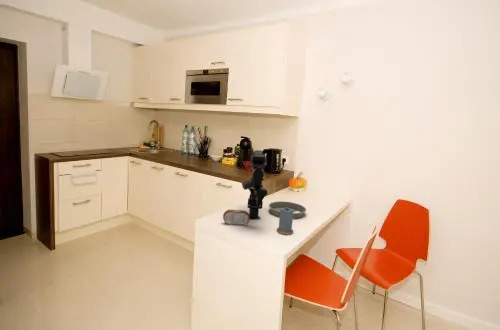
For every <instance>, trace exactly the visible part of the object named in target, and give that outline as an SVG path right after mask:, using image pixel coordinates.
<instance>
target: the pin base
mask: <svg viewBox="0 0 500 330" xmlns="http://www.w3.org/2000/svg"><path fill="white" fill-rule="evenodd" d="M276 232H277V234H280V235H284V236H291V235H293V234H294V230H293V229H292V230H291V231H290V232H286V233H284V232H282V231H280V230H279V227H277V228H276Z"/></svg>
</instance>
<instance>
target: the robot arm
mask: <svg viewBox="0 0 500 330" xmlns="http://www.w3.org/2000/svg"><path fill="white" fill-rule="evenodd" d="M267 161H268V157H267V156H266V154H265V153H263V151H262V150H257V149H256V150H254V151H253V153H252V154H251V155H250V165H251V170H252V174H251V175H252V176H251V177H250V179H249V180H244V181H243V182H241V186H242V189H244V191H246V190H249V193H250V194H249V197H248V199H247V209H249V210H248V211H249V212H248V214H249V216H250V219H249V220H256V219H259V220H260V219H261V217H260V215H259V213H260V210H262V209H263V203H264V201H263V200H264V198H265V197H266V196H267V195H268V190H267V189H266V188H264V186H263V181H264V180H265V178H264V176H265V175H264V174H265V172H264V168H266V166H268V165H267V163H268V162H267Z"/></svg>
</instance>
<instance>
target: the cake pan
mask: <svg viewBox="0 0 500 330" xmlns="http://www.w3.org/2000/svg"><path fill="white" fill-rule="evenodd" d="M286 207H287V208H290V209H292V210H294V211H293V219H294V220H295V219H300V218H303V216H304V214H305V213H306V212H307V208H306V207H305V206H304V205H302V204H299V203H295V202H292V201H282V200H281V201H274V202H273V201H272V202H270V203H269V204H268V208H269V209H270V214H272V216H276V217H278V218H280V209H282V208H286Z"/></svg>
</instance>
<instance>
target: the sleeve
mask: <svg viewBox="0 0 500 330" xmlns="http://www.w3.org/2000/svg"><path fill="white" fill-rule="evenodd" d="M293 211H294V210H292V209H290V208H287V207H286V208H282V209H280V217H279V219H278V220H279V221H278V228H279V230H280V231H282V232H284V233H286V232H290V231H291V230H293V229H292V227H293Z"/></svg>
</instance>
